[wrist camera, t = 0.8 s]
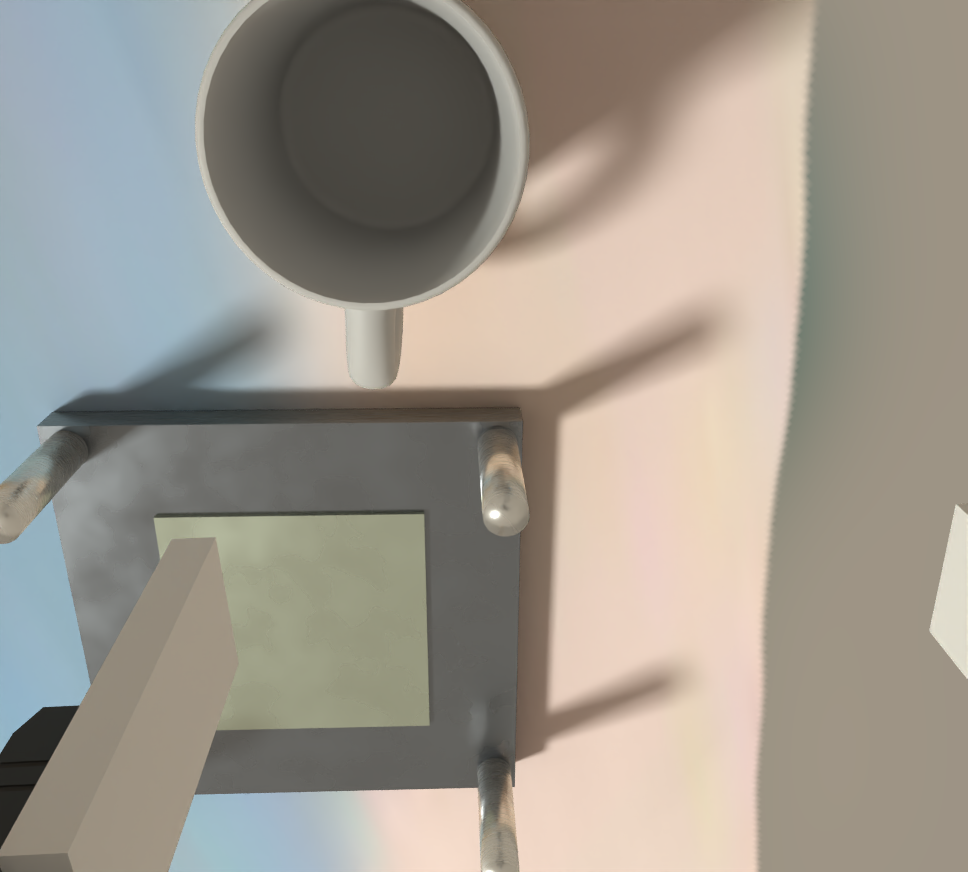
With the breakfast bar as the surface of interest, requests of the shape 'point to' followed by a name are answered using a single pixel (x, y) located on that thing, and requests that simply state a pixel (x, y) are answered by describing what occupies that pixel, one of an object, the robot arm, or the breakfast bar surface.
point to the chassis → (316, 582)
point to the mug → (363, 154)
